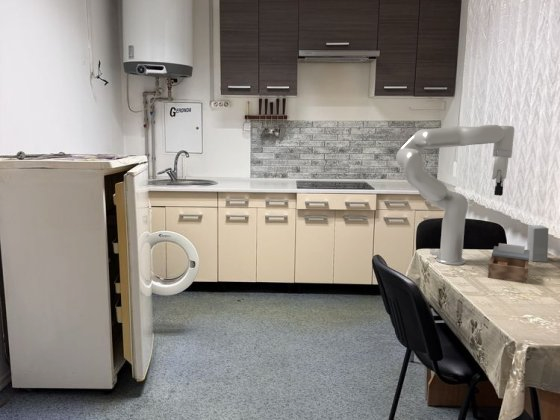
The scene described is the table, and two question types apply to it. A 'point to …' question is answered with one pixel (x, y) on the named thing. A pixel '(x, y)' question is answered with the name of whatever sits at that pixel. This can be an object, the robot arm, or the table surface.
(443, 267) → the table surface
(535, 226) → the skincare box
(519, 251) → the cover
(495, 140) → the robot arm
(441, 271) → the table surface
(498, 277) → the box
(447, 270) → the table surface
